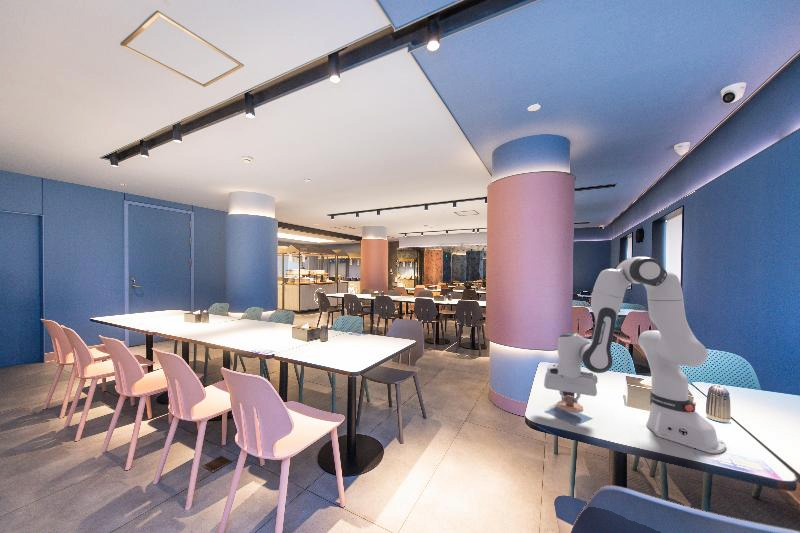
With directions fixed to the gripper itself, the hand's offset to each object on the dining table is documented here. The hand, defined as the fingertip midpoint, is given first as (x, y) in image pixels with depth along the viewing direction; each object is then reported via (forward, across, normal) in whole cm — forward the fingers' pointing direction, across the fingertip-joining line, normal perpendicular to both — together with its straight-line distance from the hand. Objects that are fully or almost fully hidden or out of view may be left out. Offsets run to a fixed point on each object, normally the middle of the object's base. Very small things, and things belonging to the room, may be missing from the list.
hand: (569, 401), depth 133 cm
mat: (+6, +1, +1) cm, 6 cm away
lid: (+2, 0, 0) cm, 2 cm away
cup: (+6, +1, -15) cm, 16 cm away
